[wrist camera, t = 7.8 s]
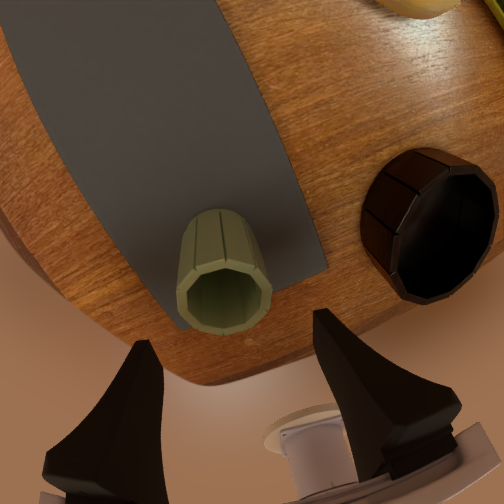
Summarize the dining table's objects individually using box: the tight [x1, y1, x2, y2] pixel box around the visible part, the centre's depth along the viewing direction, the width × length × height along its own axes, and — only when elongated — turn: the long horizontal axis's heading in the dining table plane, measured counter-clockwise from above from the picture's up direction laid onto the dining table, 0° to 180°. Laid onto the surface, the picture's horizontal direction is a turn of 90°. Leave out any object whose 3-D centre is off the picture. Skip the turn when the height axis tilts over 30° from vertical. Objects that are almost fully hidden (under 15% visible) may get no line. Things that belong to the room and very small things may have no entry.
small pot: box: [176, 209, 273, 336], centre depth 16 cm, size 4×5×6 cm
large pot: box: [360, 148, 499, 305], centre depth 19 cm, size 10×10×4 cm
